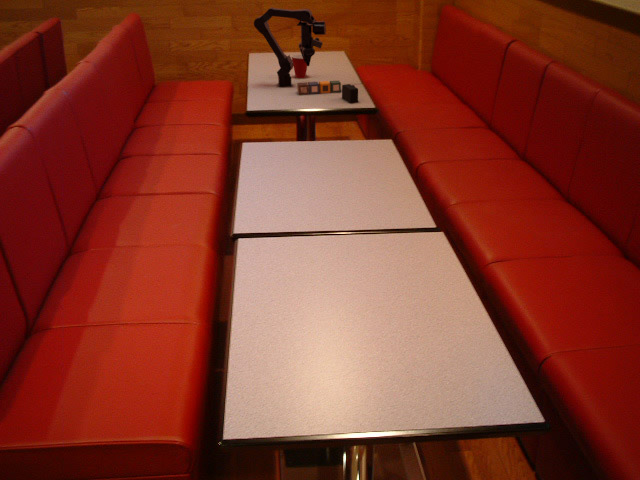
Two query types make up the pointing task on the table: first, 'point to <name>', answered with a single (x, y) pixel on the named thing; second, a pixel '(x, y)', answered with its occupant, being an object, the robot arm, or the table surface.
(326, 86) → the mustard block
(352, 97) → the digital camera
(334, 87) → the green block
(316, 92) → the slate block
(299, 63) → the plastic cup
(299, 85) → the walnut block
